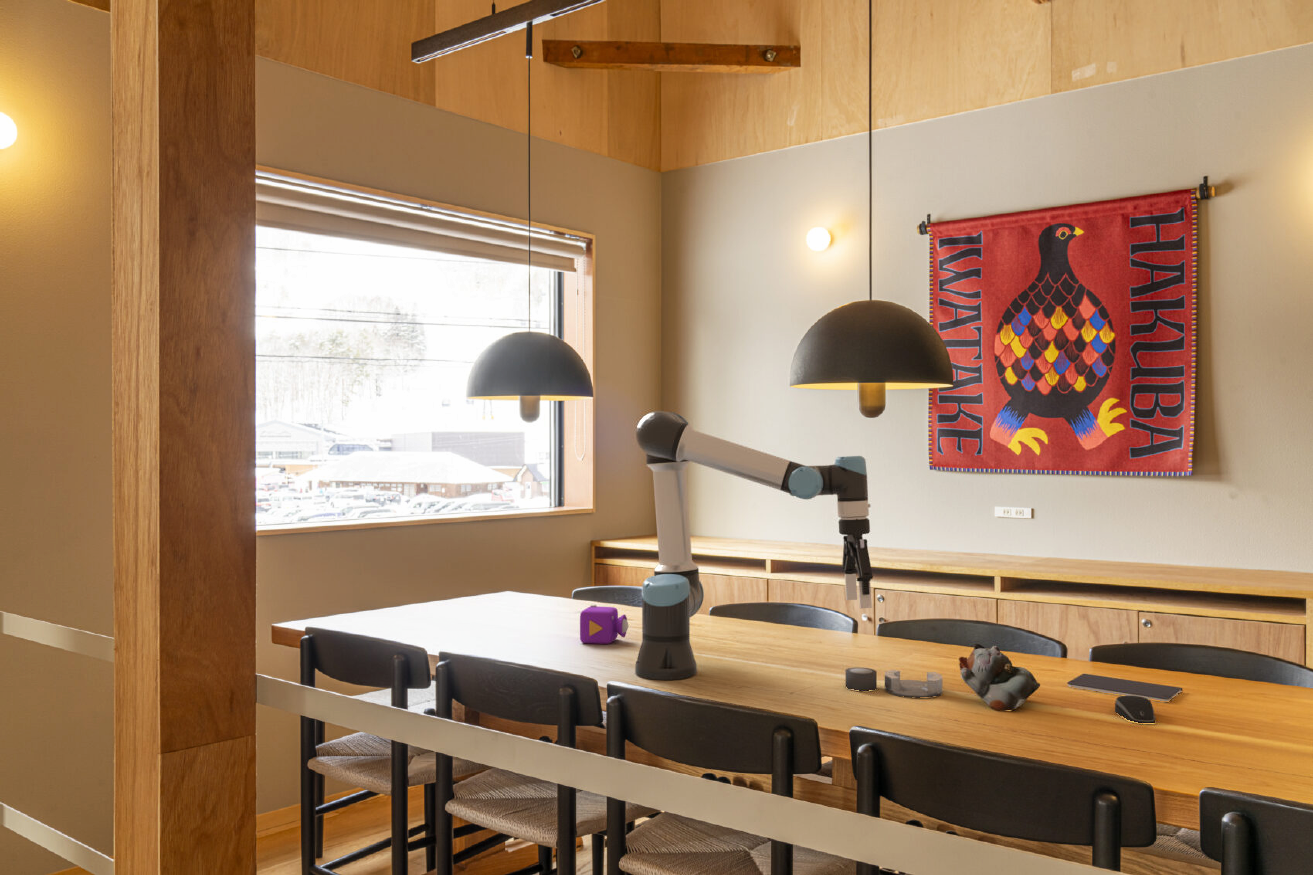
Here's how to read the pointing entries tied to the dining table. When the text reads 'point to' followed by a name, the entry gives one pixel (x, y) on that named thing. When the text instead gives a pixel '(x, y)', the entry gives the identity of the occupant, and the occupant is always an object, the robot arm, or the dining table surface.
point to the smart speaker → (861, 679)
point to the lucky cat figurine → (997, 678)
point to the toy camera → (601, 625)
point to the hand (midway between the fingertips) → (858, 603)
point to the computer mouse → (1135, 709)
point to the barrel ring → (913, 685)
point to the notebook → (1124, 687)
